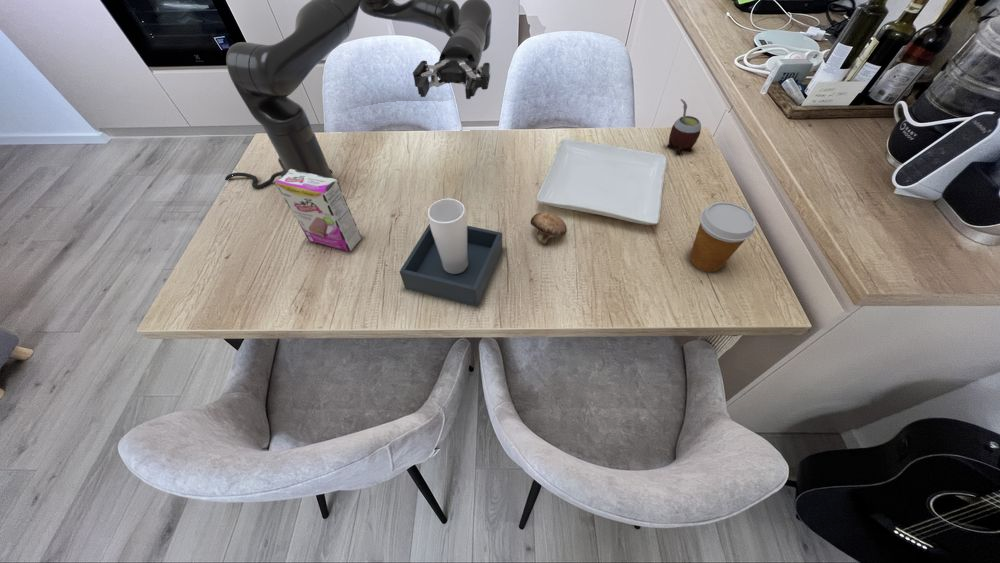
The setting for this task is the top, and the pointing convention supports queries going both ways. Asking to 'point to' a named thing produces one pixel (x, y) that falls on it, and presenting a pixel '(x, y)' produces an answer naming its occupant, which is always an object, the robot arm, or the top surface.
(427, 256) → the tub
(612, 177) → the square plate
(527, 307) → the top surface
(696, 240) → the disposable coffee cup
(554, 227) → the mushroom
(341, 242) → the candy bar box
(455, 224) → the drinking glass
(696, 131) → the mate gourd
